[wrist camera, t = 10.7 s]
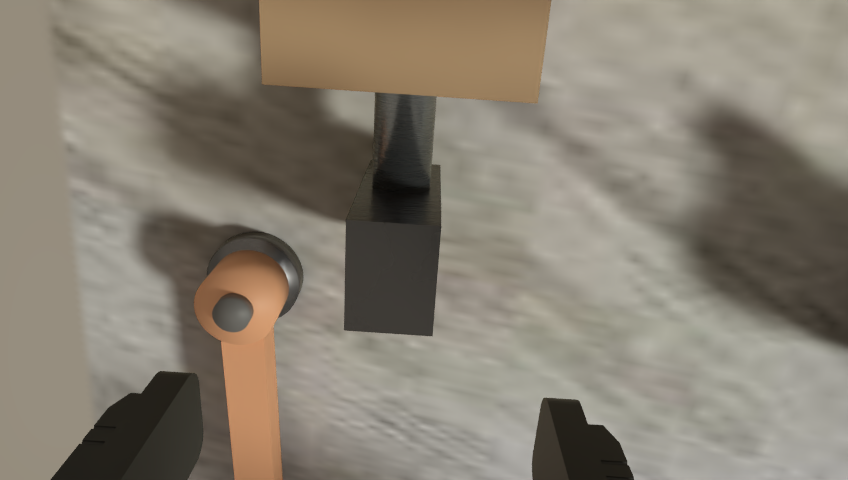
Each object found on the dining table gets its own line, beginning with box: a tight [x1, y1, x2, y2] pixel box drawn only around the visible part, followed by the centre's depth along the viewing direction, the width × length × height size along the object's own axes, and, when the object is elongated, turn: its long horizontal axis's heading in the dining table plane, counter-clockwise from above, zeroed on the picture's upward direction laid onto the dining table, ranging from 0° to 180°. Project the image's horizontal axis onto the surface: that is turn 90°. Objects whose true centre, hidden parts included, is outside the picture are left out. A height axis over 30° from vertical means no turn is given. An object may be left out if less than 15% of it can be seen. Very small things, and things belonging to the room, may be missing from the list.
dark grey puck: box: [207, 232, 303, 318], centre depth 29 cm, size 4×4×1 cm
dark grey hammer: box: [344, 92, 441, 336], centre depth 21 cm, size 17×3×8 cm, turn 176°
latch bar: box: [194, 250, 289, 480], centre depth 29 cm, size 4×15×3 cm, turn 178°
